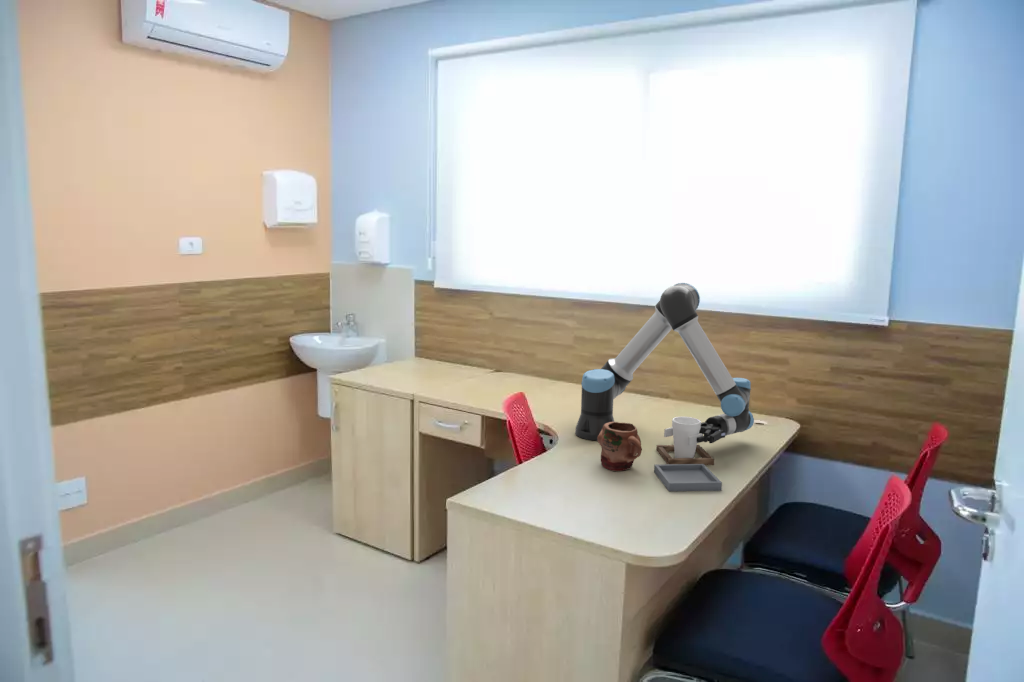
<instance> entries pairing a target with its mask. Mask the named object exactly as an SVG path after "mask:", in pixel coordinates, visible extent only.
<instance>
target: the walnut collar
mask: <svg viewBox="0 0 1024 682" xmlns="http://www.w3.org/2000/svg"><path fill="white" fill-rule="evenodd" d="M655 447H656V450H655V451H656V452H657V453H658V455H659V456H660V457H661V458H662V459H663V460H664V461H665V464H704V465H705V466H714V465H715V458H713V456H712V455H710V454H709V453H708V451H706V450H705V449H704V448H703V447H702V446H701V445H700V444H697V446H696V451H695V453H696V454H697V455H699V456H700V457H694V458H675V457H672V456H671V455H670V454H669V453H674V444H656V446H655Z"/></svg>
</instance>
